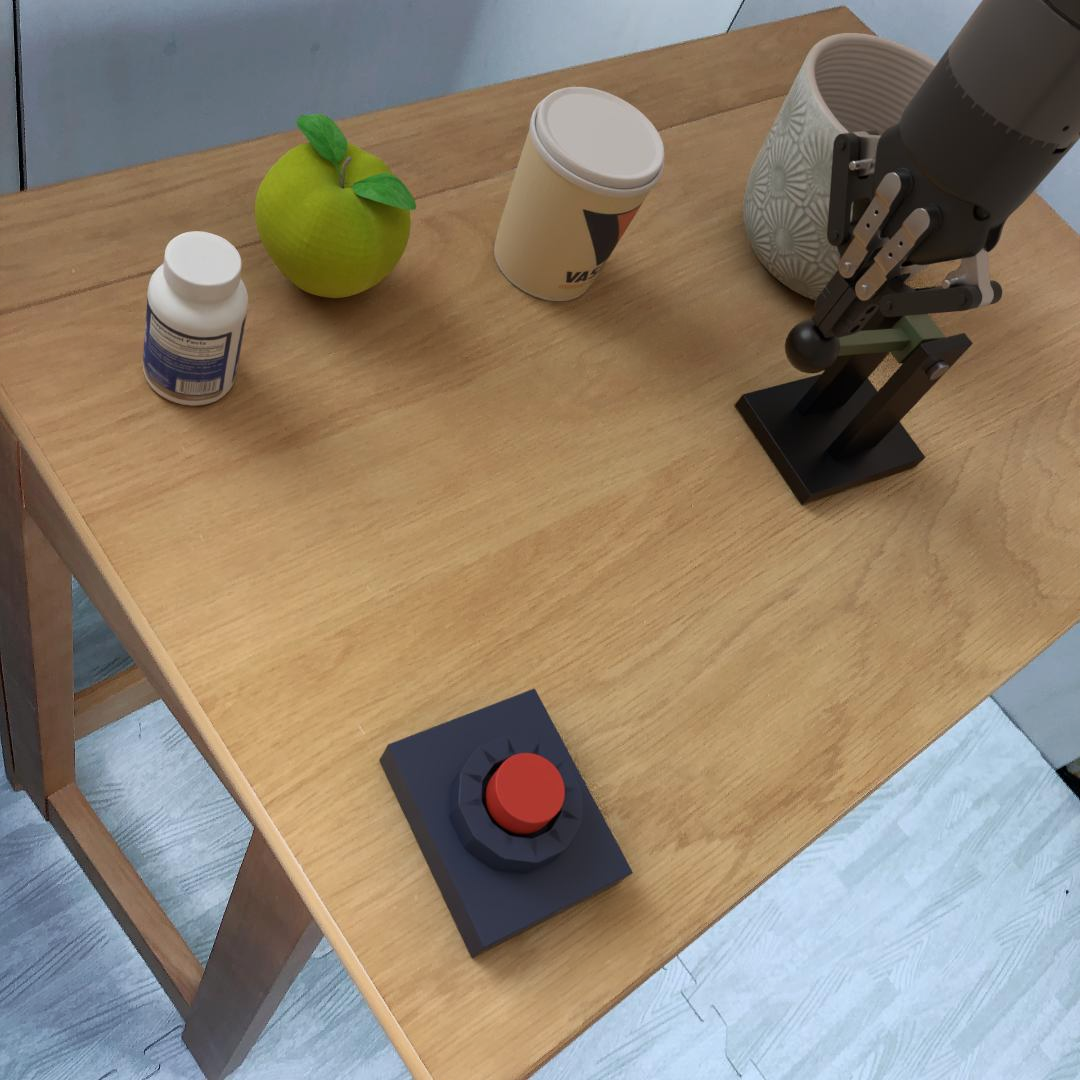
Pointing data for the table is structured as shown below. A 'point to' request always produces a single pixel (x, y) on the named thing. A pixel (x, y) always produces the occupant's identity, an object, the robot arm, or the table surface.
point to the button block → (480, 842)
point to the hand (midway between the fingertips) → (828, 327)
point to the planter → (822, 149)
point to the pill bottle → (195, 320)
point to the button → (525, 793)
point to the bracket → (847, 417)
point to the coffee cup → (575, 191)
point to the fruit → (332, 213)
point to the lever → (857, 342)
